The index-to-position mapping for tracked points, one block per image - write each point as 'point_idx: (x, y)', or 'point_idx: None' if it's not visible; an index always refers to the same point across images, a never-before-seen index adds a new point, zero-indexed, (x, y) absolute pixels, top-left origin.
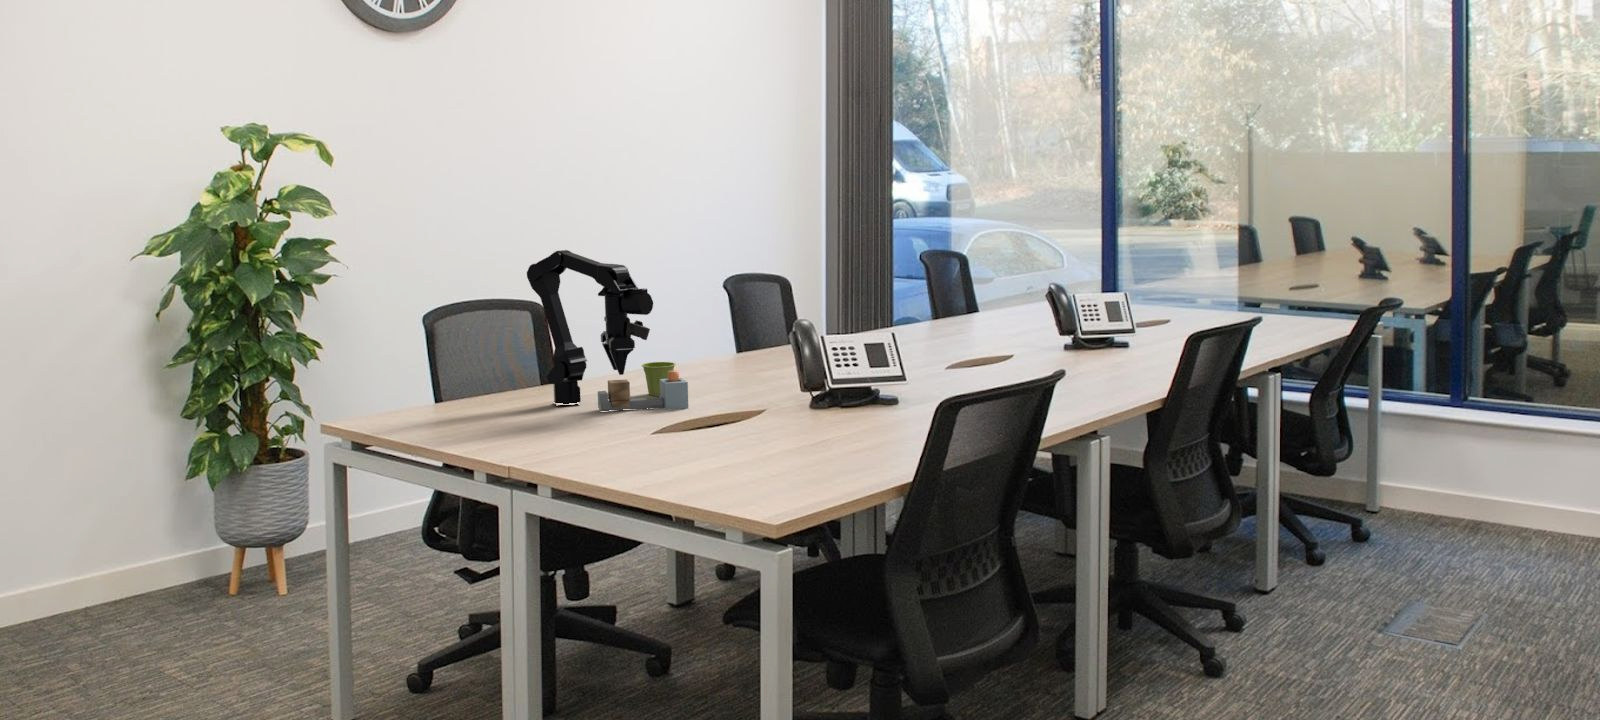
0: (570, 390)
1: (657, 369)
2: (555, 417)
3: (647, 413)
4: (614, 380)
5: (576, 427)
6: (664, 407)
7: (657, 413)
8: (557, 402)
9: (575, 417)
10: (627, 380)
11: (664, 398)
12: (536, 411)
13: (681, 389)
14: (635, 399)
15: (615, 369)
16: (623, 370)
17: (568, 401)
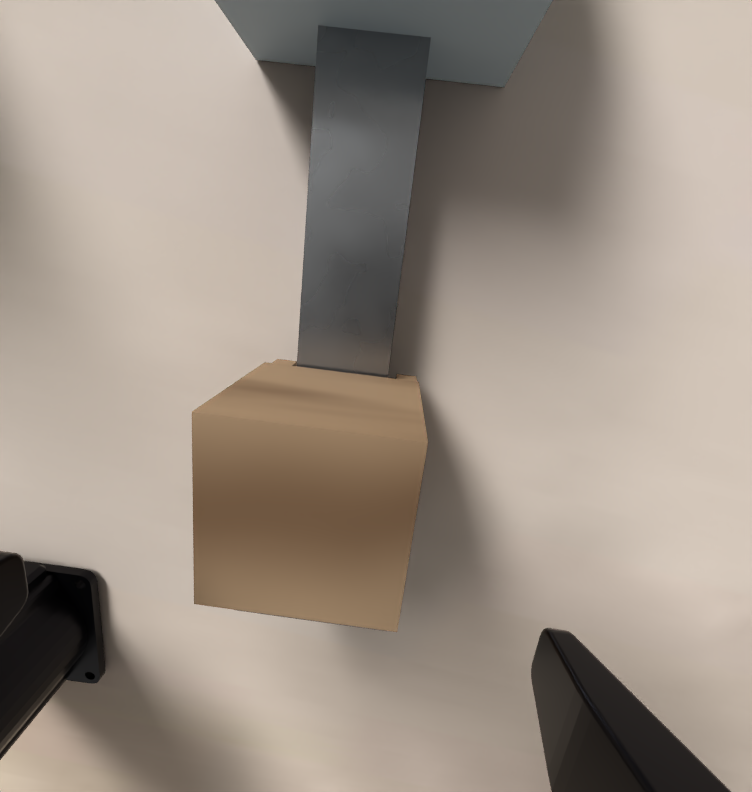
0: (15, 689)
1: None
2: (399, 741)
3: (571, 282)
4: (220, 548)
5: (733, 739)
6: (435, 76)
7: (618, 211)
8: (63, 677)
9: (452, 674)
10: (282, 424)
11: (456, 36)
12: (194, 761)
13: None
14: (335, 310)
15: (22, 588)
16: (622, 697)
17: (76, 639)
